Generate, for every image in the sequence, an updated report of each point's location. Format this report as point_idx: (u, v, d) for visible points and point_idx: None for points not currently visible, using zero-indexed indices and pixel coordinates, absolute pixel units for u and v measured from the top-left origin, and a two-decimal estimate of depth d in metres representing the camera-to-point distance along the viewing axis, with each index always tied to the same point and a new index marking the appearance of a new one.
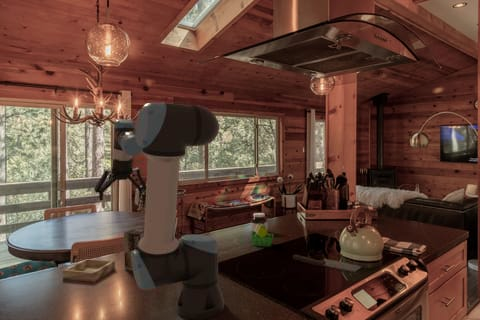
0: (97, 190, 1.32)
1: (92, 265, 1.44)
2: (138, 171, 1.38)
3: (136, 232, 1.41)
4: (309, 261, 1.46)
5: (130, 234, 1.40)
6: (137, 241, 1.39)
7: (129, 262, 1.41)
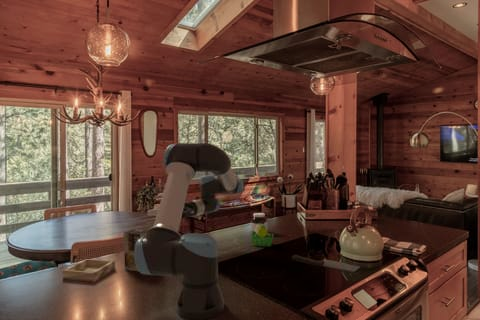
0: None
1: (92, 265, 1.44)
2: (192, 209, 1.57)
3: (136, 232, 1.41)
4: (308, 261, 1.46)
5: (130, 234, 1.40)
6: None
7: (129, 262, 1.41)
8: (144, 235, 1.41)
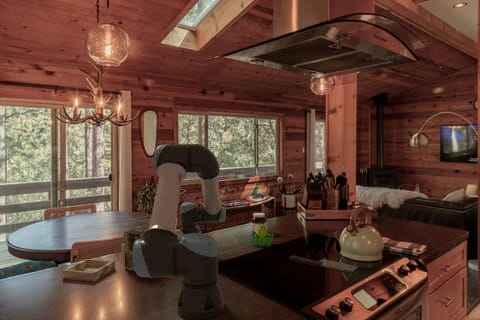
0: None
1: (92, 265, 1.44)
2: None
3: (136, 232, 1.41)
4: (306, 262, 1.45)
5: (130, 234, 1.40)
6: None
7: (129, 262, 1.41)
8: None
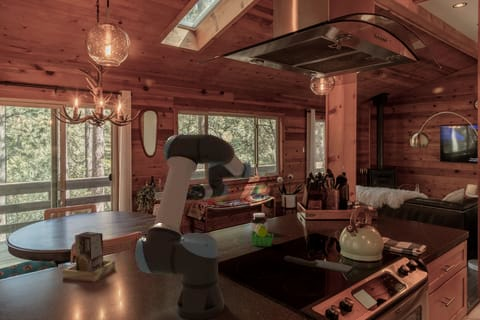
0: None
1: None
2: (199, 191, 1.54)
3: (88, 235, 1.35)
4: (301, 262, 1.45)
5: (81, 237, 1.34)
6: (88, 244, 1.33)
7: (80, 266, 1.35)
8: (96, 238, 1.35)
